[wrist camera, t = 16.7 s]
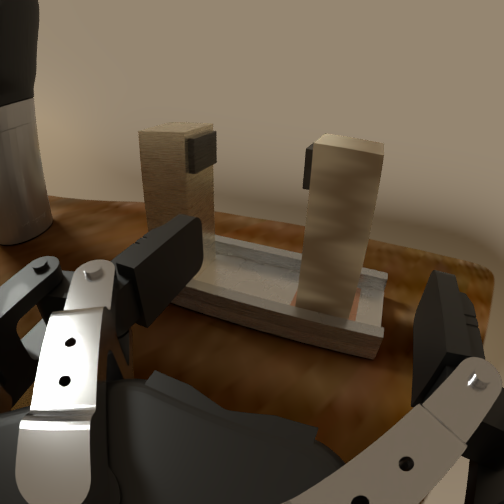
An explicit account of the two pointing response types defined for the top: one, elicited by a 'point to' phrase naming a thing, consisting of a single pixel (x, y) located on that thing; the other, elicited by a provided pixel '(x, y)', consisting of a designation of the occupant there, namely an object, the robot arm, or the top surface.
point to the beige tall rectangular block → (337, 220)
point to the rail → (244, 253)
